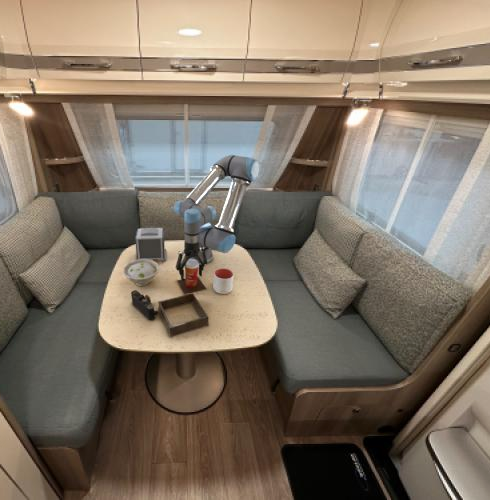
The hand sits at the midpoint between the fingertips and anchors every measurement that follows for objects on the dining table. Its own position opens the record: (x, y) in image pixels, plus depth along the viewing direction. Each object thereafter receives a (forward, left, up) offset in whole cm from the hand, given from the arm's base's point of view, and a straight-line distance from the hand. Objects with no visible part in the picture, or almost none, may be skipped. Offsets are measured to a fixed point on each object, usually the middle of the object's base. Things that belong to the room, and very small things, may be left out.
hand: (191, 277), depth 141 cm
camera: (+28, +10, -5) cm, 30 cm away
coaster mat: (0, 0, -5) cm, 5 cm away
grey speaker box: (+12, -37, -5) cm, 39 cm away
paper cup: (0, 0, -5) cm, 5 cm away
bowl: (+24, -12, -5) cm, 27 cm away
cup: (-14, +9, -5) cm, 18 cm away
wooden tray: (+13, +21, -5) cm, 25 cm away
